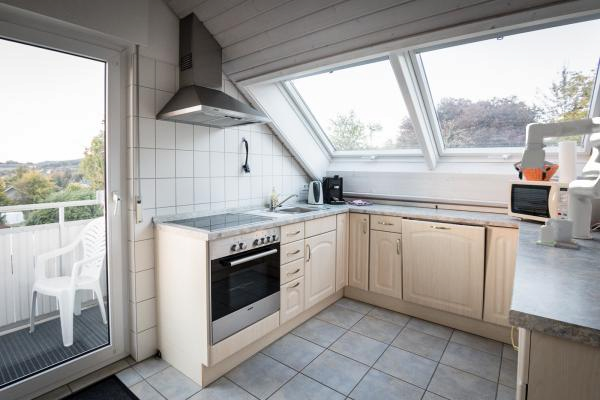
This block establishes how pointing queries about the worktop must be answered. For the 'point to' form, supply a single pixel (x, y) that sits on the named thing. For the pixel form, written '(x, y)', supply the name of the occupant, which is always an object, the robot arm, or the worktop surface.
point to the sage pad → (546, 243)
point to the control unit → (563, 231)
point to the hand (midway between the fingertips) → (531, 179)
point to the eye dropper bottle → (547, 232)
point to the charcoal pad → (567, 246)
